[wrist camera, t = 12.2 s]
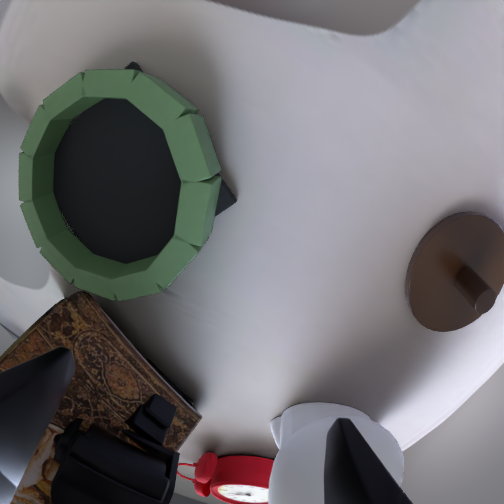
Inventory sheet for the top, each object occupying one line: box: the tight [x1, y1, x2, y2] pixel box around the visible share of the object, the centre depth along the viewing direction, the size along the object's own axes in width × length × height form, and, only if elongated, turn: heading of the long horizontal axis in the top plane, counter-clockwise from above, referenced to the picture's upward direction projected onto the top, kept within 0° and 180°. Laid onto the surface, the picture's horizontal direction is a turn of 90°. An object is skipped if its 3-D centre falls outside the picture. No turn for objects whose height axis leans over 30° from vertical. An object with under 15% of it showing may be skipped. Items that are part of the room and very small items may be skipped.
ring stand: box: [405, 212, 504, 332], centre depth 16 cm, size 9×9×4 cm
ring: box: [19, 69, 222, 301], centre depth 16 cm, size 14×14×2 cm
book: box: [0, 291, 202, 504], centre depth 15 cm, size 16×6×25 cm, turn 31°
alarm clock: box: [177, 452, 274, 504], centre depth 28 cm, size 10×6×15 cm
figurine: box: [268, 402, 404, 504], centre depth 18 cm, size 11×11×15 cm
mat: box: [53, 62, 237, 264], centre depth 18 cm, size 11×11×1 cm
